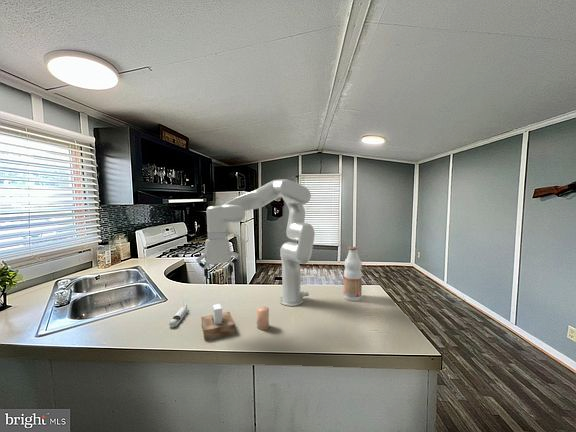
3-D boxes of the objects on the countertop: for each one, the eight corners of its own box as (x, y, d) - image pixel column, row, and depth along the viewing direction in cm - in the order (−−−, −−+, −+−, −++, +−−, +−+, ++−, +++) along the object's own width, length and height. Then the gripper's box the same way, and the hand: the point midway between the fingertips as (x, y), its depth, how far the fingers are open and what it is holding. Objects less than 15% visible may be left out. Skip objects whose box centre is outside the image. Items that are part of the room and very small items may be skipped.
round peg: (266, 323, 113) (266, 305, 112) (270, 328, 108) (270, 310, 107) (255, 325, 111) (255, 307, 110) (259, 331, 106) (258, 312, 105)
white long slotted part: (178, 328, 109) (177, 314, 108) (166, 329, 109) (166, 314, 108) (191, 309, 127) (191, 297, 126) (182, 310, 126) (181, 297, 126)
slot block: (229, 320, 115) (229, 311, 115) (235, 333, 104) (234, 323, 104) (201, 325, 111) (201, 317, 110) (204, 340, 100) (204, 330, 99)
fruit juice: (348, 302, 133) (349, 249, 131) (340, 295, 143) (341, 246, 140) (364, 300, 135) (365, 248, 133) (356, 294, 145) (357, 245, 142)
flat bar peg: (220, 326, 110) (220, 303, 110) (222, 331, 106) (221, 308, 105) (213, 327, 109) (212, 304, 108) (215, 333, 105) (214, 309, 104)
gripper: (235, 232, 113) (237, 270, 114) (194, 236, 106) (196, 276, 107) (239, 235, 106) (241, 275, 108) (195, 239, 99) (198, 282, 100)
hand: (219, 275), depth 107 cm, fingers open, 9 cm apart
